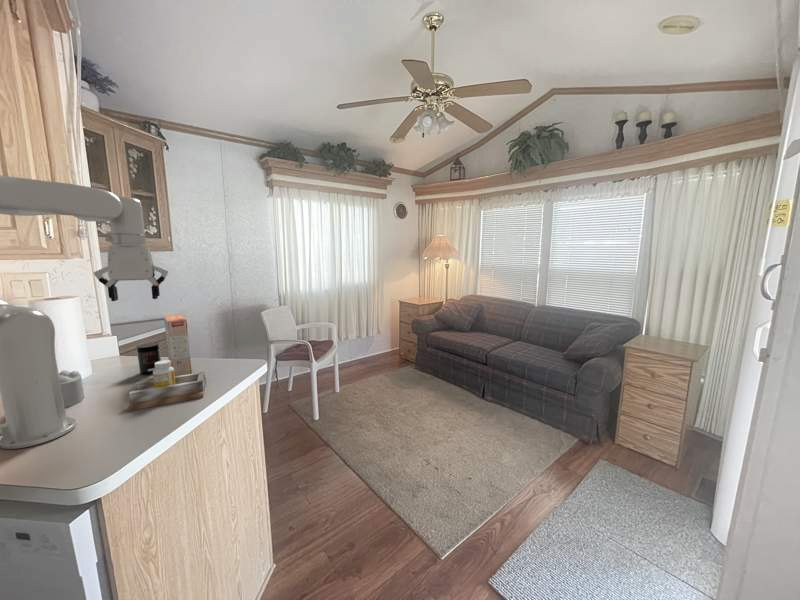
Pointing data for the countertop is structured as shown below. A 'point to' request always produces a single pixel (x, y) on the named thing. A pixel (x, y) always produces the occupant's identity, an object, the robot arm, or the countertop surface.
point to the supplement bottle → (163, 374)
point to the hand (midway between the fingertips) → (135, 299)
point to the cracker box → (178, 344)
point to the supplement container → (148, 357)
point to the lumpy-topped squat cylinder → (71, 387)
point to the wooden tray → (168, 391)
